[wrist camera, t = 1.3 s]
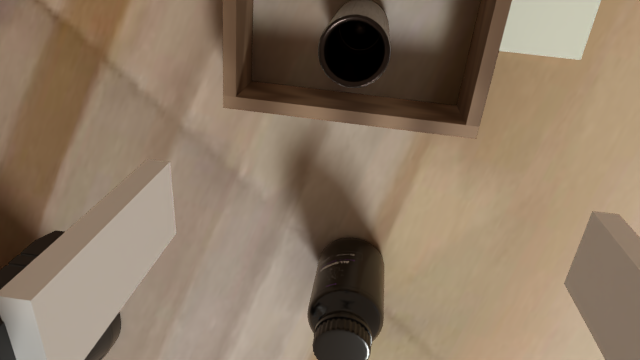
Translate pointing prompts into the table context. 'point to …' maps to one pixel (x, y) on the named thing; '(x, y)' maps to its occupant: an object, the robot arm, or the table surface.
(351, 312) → the supplement bottle
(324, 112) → the box frame
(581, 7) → the coaster
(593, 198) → the table surface
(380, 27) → the gray cylindrical cup
